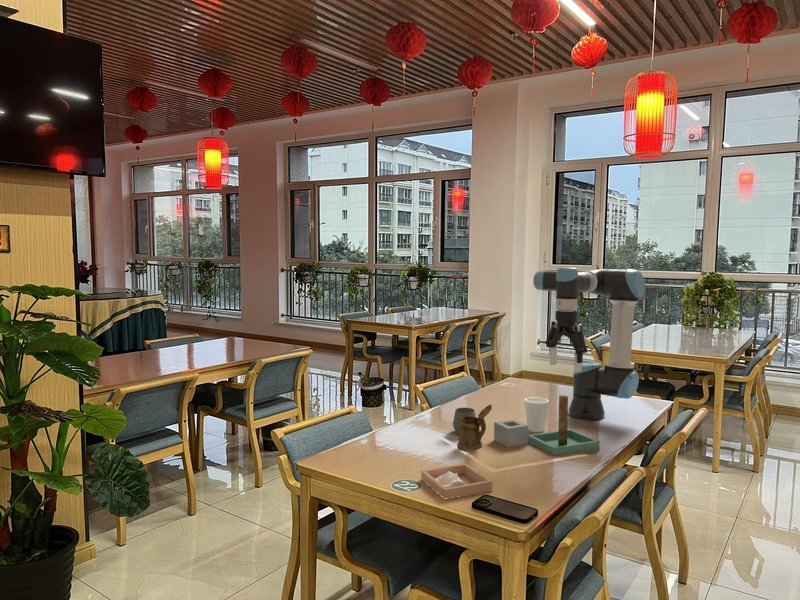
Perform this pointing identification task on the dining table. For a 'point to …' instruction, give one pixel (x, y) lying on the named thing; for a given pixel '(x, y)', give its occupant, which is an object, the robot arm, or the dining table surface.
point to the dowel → (563, 420)
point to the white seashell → (449, 480)
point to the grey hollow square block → (511, 433)
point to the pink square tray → (479, 487)
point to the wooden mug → (472, 430)
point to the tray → (574, 444)
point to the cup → (458, 417)
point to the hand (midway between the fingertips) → (565, 368)
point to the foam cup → (536, 413)
